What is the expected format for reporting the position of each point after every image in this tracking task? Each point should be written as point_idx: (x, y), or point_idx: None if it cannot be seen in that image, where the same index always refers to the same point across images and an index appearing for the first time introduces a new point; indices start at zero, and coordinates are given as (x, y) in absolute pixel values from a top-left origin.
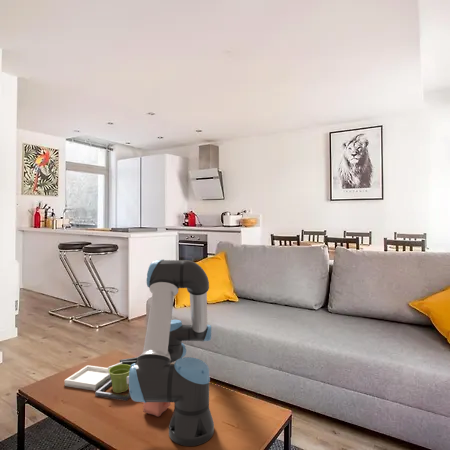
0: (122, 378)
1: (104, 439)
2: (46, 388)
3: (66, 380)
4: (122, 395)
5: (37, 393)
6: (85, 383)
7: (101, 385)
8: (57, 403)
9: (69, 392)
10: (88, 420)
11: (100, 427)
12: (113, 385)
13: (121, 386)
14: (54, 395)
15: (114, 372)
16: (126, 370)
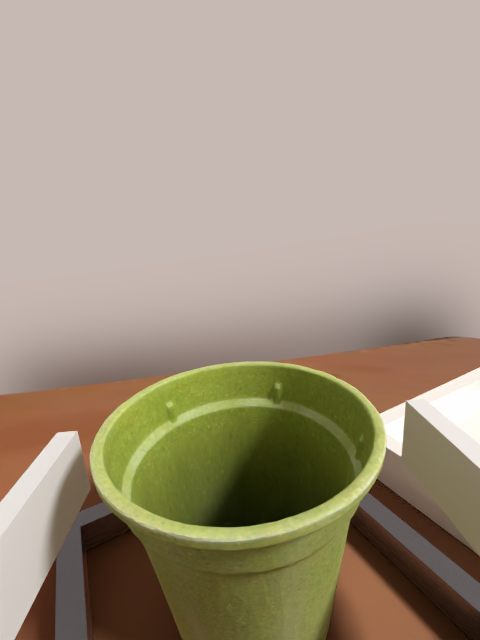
0: (152, 453)
1: (4, 396)
2: (468, 362)
3: (477, 369)
4: (104, 510)
5: (429, 349)
6: (402, 404)
7: (414, 504)
8: (318, 367)
9: (392, 394)
10: (132, 393)
11: (59, 402)
12: (238, 475)
13: (176, 517)
14: (388, 368)
15: (338, 451)
16: (297, 563)
